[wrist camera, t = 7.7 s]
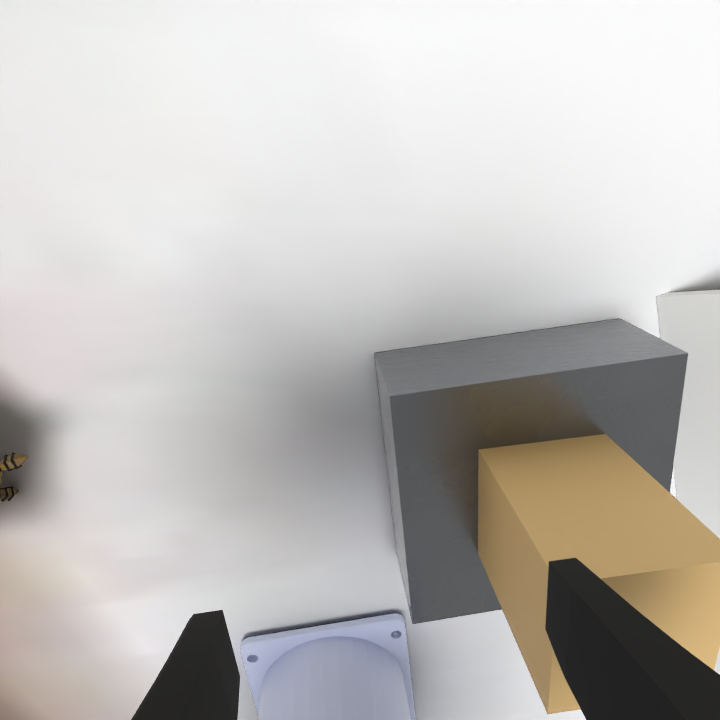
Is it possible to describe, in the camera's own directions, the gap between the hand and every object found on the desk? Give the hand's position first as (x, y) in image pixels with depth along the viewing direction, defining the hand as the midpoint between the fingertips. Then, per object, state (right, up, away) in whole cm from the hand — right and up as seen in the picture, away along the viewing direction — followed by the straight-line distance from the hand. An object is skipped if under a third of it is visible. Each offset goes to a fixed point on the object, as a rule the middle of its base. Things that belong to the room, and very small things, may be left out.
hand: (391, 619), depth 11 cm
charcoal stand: (+5, +2, +11) cm, 12 cm away
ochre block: (+6, +1, +7) cm, 9 cm away
